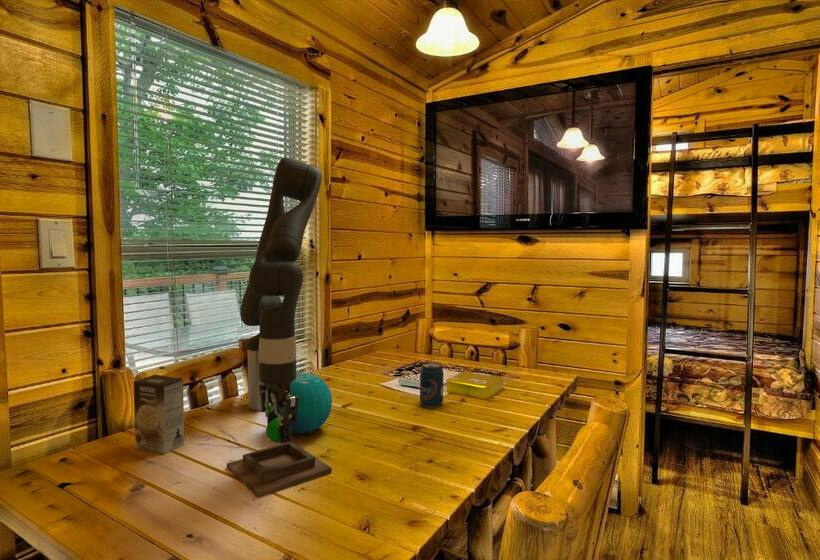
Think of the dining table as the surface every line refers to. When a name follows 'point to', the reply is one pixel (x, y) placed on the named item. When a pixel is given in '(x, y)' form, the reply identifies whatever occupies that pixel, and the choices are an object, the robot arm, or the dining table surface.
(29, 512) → the dining table surface
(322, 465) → the tray
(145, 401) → the coffee box
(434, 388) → the soda can
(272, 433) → the polyhedron
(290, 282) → the robot arm
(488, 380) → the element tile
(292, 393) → the decorative orb
